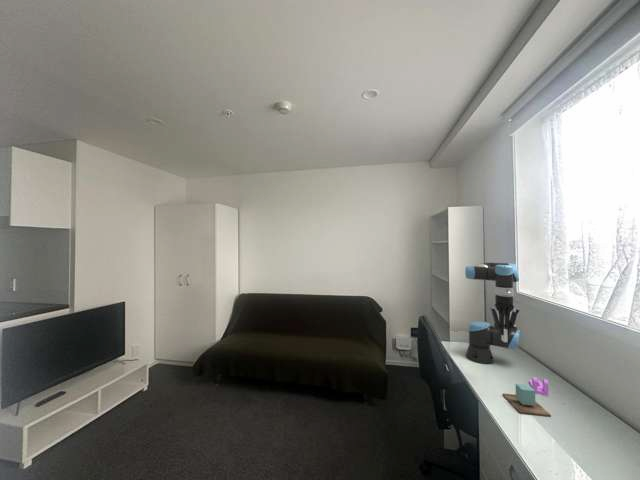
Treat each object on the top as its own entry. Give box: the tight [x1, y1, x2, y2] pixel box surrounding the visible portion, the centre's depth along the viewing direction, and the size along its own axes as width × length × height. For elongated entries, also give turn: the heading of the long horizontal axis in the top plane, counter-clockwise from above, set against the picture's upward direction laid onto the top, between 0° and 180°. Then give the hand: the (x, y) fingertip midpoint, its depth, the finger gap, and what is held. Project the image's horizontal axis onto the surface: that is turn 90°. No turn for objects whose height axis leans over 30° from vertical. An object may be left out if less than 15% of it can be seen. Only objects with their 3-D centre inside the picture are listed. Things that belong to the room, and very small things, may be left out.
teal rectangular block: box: [515, 383, 536, 406], centre depth 118 cm, size 5×5×7 cm
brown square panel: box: [502, 393, 552, 418], centre depth 118 cm, size 14×12×8 cm
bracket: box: [528, 376, 549, 397], centre depth 133 cm, size 13×6×7 cm, turn 150°
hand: (504, 341), depth 132 cm, fingers closed
